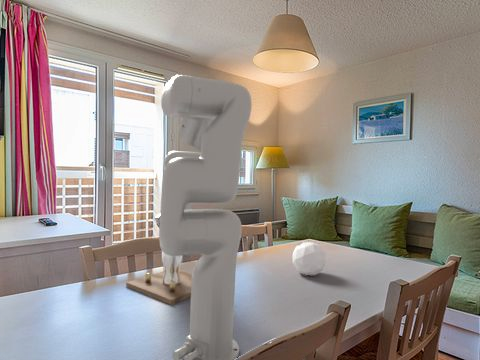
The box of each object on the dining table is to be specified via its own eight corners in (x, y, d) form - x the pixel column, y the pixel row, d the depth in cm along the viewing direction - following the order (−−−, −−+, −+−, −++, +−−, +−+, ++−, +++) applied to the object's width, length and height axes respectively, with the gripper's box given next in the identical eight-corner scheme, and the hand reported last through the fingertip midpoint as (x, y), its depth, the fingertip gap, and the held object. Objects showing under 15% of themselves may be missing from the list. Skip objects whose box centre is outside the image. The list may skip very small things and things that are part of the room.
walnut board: (170, 305, 92) (171, 289, 92) (126, 286, 105) (126, 273, 105) (218, 285, 110) (219, 272, 110) (175, 271, 123) (175, 260, 123)
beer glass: (160, 286, 102) (162, 241, 102) (160, 279, 109) (162, 236, 109) (182, 285, 104) (184, 240, 104) (180, 278, 111) (182, 236, 111)
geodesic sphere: (284, 263, 120) (307, 236, 120) (281, 254, 134) (302, 230, 133) (313, 287, 120) (336, 260, 119) (307, 276, 134) (328, 251, 133)
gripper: (164, 190, 98) (163, 245, 98) (202, 190, 112) (200, 237, 112) (149, 189, 102) (147, 241, 102) (187, 189, 116) (185, 235, 116)
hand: (175, 239), depth 107 cm, fingers open, 9 cm apart
